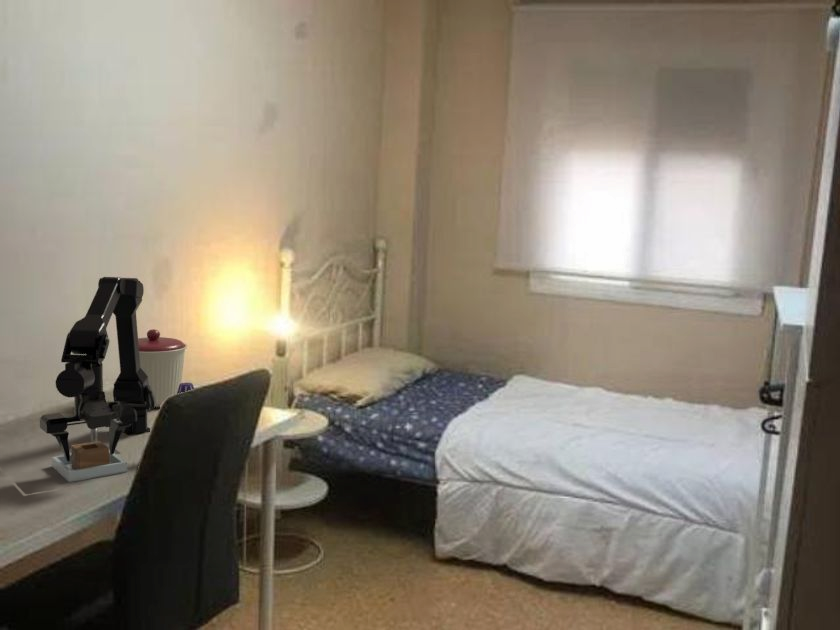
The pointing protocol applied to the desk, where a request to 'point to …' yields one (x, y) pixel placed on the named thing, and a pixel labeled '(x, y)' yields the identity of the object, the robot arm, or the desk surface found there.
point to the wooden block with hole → (89, 455)
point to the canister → (162, 363)
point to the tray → (71, 475)
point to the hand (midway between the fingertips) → (90, 457)
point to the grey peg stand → (94, 439)
